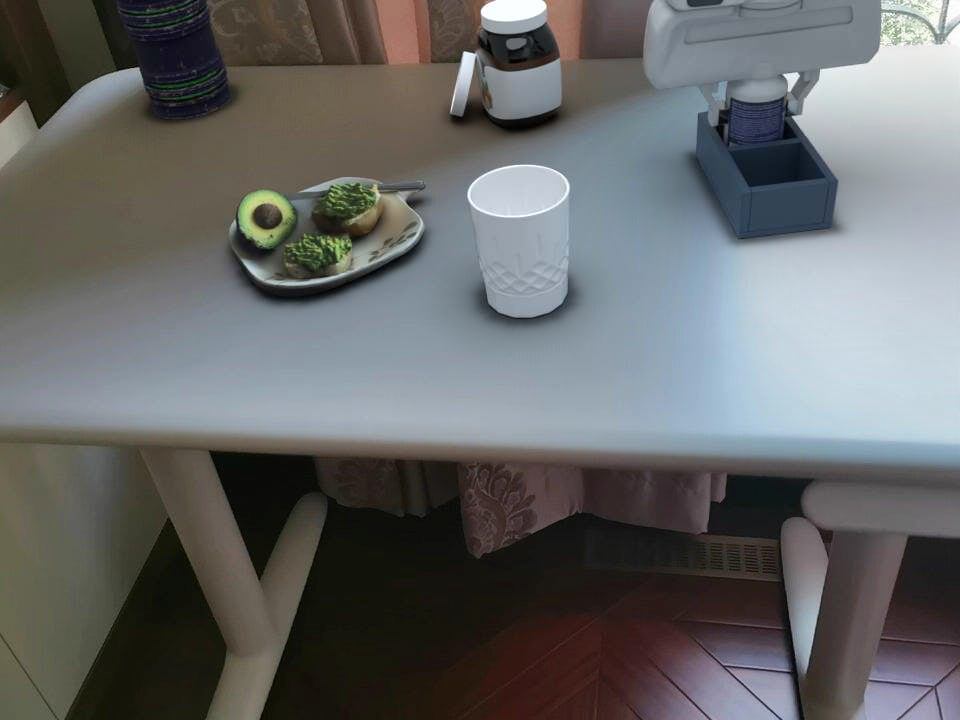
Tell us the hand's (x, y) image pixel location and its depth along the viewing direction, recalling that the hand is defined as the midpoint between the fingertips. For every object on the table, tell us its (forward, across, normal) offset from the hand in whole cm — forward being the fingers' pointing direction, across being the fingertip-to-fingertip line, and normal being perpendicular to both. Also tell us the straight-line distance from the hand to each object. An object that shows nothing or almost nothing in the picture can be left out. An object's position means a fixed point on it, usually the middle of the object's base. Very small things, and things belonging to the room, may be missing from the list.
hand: (754, 118), depth 88 cm
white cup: (+6, +23, +16) cm, 28 cm away
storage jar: (+5, +59, -32) cm, 68 cm away
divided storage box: (+5, 0, +4) cm, 6 cm away
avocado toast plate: (+5, +41, +4) cm, 42 cm away
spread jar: (+5, +22, -18) cm, 29 cm away
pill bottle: (+4, 0, 0) cm, 4 cm away
